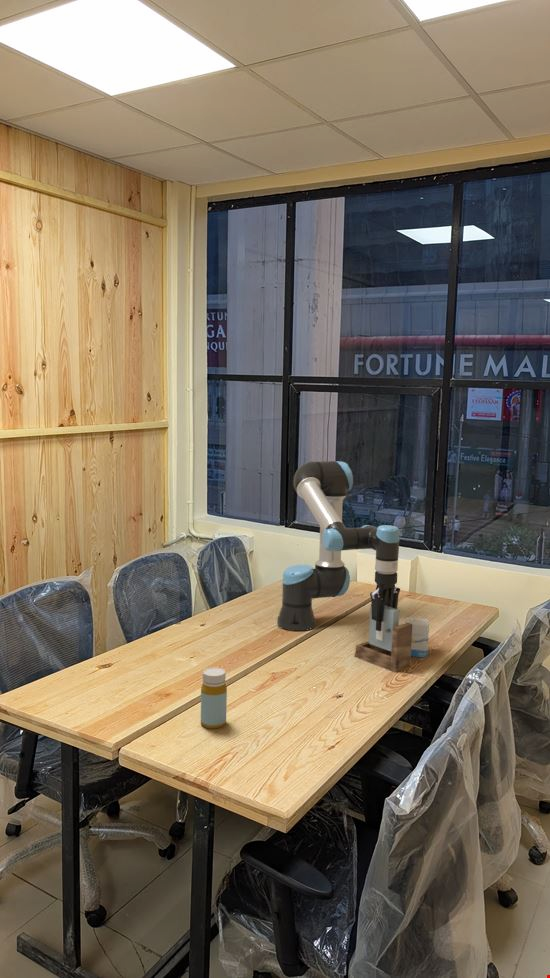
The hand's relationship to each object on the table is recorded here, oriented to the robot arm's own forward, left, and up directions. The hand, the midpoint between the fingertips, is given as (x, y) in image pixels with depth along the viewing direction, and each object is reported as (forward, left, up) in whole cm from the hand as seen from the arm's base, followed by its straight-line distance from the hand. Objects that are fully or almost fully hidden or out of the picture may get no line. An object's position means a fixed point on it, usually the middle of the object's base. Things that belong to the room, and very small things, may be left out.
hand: (383, 638), depth 243 cm
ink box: (+2, +16, -9) cm, 19 cm away
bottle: (+1, -73, -9) cm, 73 cm away
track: (0, 0, -8) cm, 8 cm away
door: (0, 0, -3) cm, 3 cm away
